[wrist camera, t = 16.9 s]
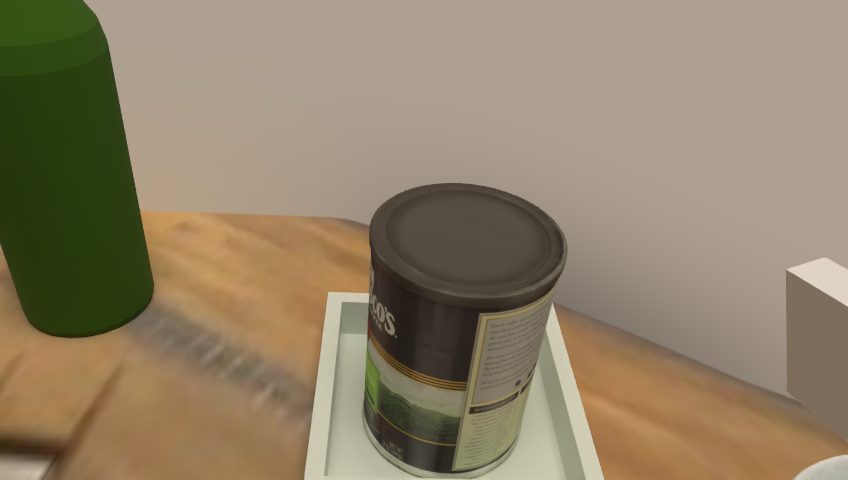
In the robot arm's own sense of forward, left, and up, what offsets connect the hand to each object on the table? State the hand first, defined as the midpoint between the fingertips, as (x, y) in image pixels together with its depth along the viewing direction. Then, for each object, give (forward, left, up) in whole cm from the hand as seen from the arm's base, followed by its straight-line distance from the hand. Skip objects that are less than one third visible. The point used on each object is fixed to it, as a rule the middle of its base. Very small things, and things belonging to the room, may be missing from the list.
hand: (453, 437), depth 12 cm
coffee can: (+3, +21, -24) cm, 32 cm away
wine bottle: (-23, +32, -25) cm, 46 cm away
